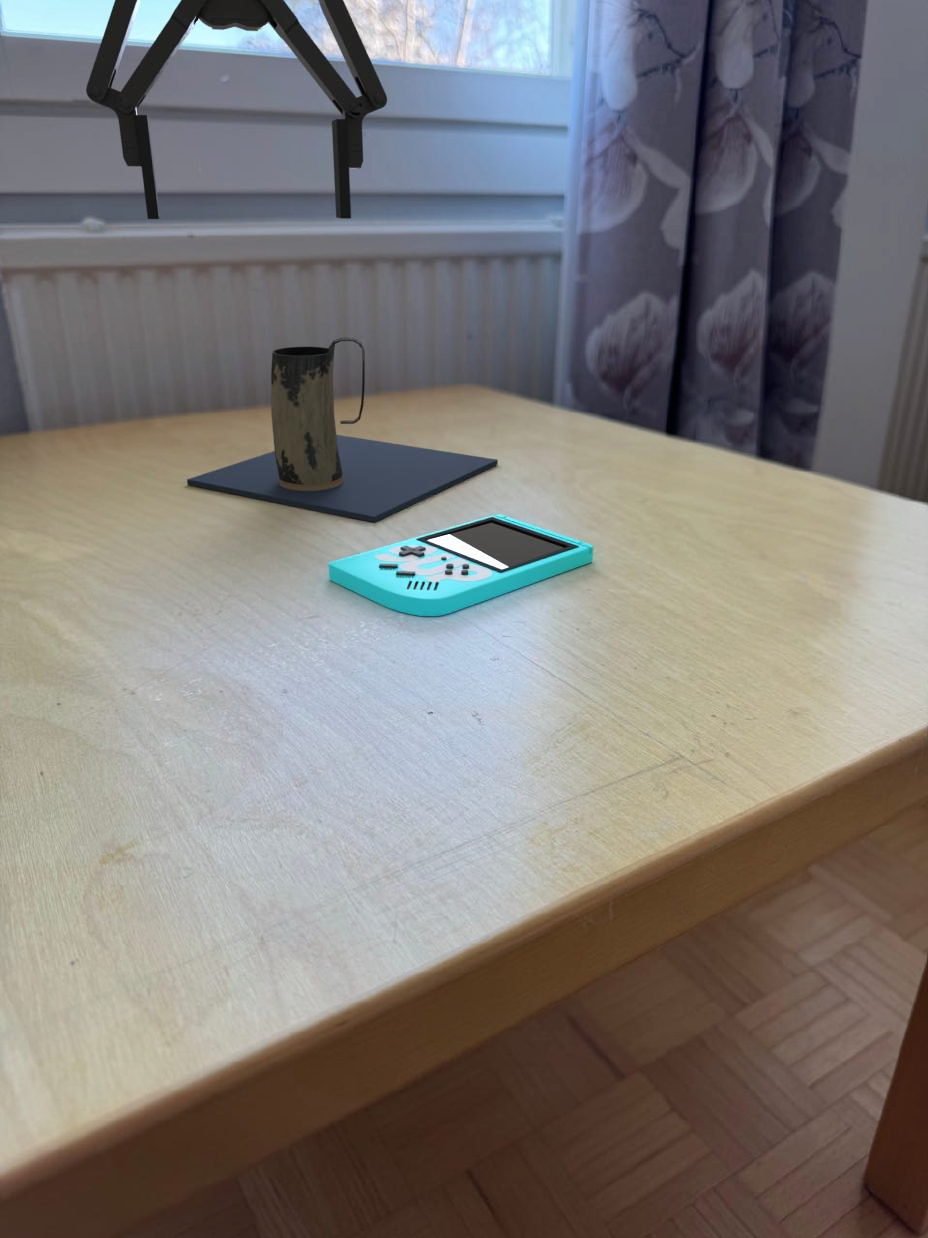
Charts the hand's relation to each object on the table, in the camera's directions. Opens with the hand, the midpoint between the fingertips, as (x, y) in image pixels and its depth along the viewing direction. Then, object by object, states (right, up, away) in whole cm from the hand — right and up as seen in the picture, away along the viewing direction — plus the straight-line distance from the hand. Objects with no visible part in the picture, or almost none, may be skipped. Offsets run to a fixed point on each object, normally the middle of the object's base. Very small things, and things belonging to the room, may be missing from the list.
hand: (250, 218), depth 70 cm
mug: (+3, -18, +13) cm, 22 cm away
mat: (+5, -16, +17) cm, 24 cm away
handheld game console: (+16, -26, -4) cm, 31 cm away
